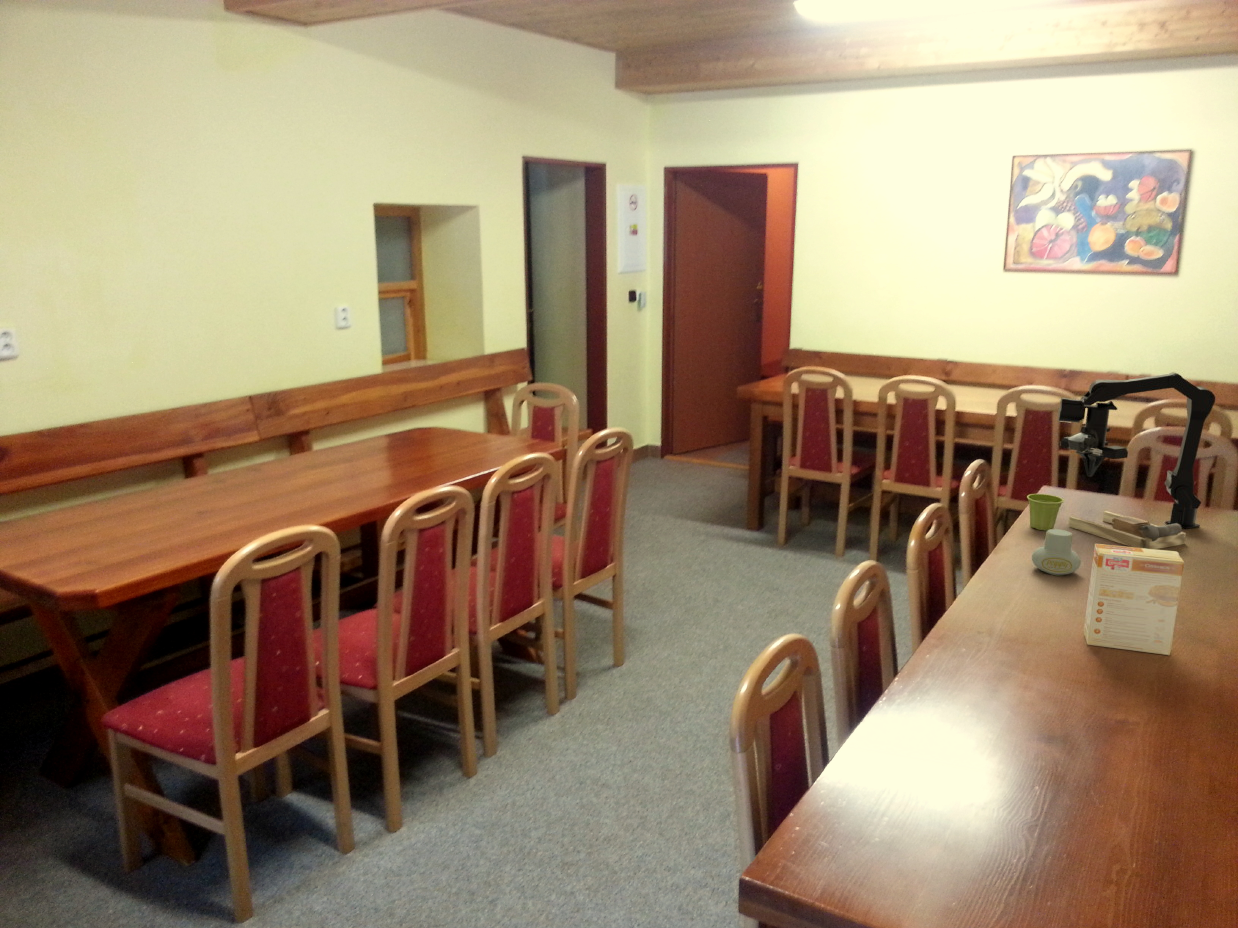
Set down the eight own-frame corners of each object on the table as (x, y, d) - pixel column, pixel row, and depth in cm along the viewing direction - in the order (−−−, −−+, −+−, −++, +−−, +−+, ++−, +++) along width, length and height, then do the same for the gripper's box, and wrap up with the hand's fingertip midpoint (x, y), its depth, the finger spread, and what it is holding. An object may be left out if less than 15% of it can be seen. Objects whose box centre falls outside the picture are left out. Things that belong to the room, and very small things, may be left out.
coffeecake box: (1163, 642, 193) (1177, 550, 188) (1170, 656, 186) (1185, 561, 182) (1082, 631, 198) (1094, 542, 193) (1086, 645, 191) (1099, 552, 187)
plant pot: (1063, 533, 265) (1067, 503, 263) (1027, 531, 266) (1030, 501, 264) (1055, 524, 274) (1059, 494, 272) (1020, 521, 275) (1024, 492, 273)
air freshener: (1030, 573, 232) (1035, 534, 230) (1030, 563, 240) (1034, 525, 238) (1080, 579, 228) (1085, 539, 226) (1078, 569, 236) (1083, 530, 234)
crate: (1126, 532, 267) (1128, 515, 266) (1148, 539, 261) (1150, 522, 260) (1110, 534, 265) (1112, 517, 263) (1131, 542, 258) (1134, 524, 257)
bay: (1106, 520, 278) (1109, 498, 277) (1189, 545, 256) (1192, 521, 254) (1068, 526, 272) (1071, 503, 270) (1149, 552, 249) (1153, 528, 248)
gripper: (1049, 420, 281) (1043, 471, 285) (1105, 431, 265) (1097, 486, 268) (1076, 417, 286) (1070, 468, 289) (1132, 429, 269) (1125, 482, 273)
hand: (1089, 476), depth 280 cm, fingers closed
